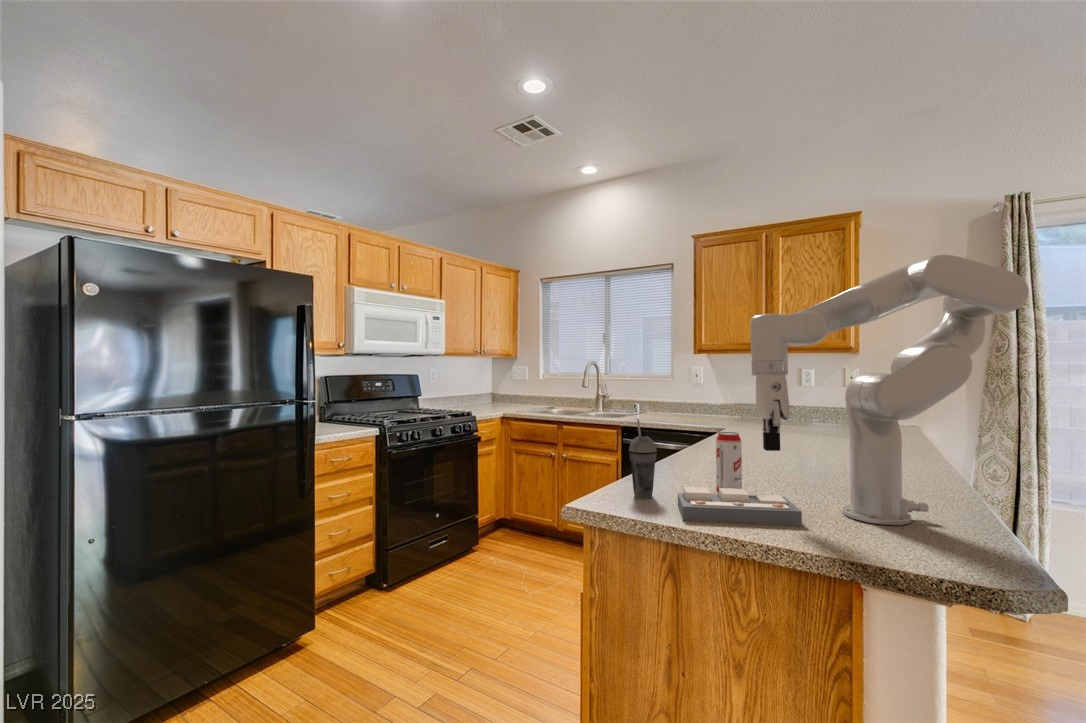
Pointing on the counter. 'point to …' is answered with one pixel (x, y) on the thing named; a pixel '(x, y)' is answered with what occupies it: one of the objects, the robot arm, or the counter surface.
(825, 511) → the counter surface
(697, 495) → the key
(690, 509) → the button board
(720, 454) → the beer can
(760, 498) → the key
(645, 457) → the beverage cup
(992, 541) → the counter surface
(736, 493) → the middle key
